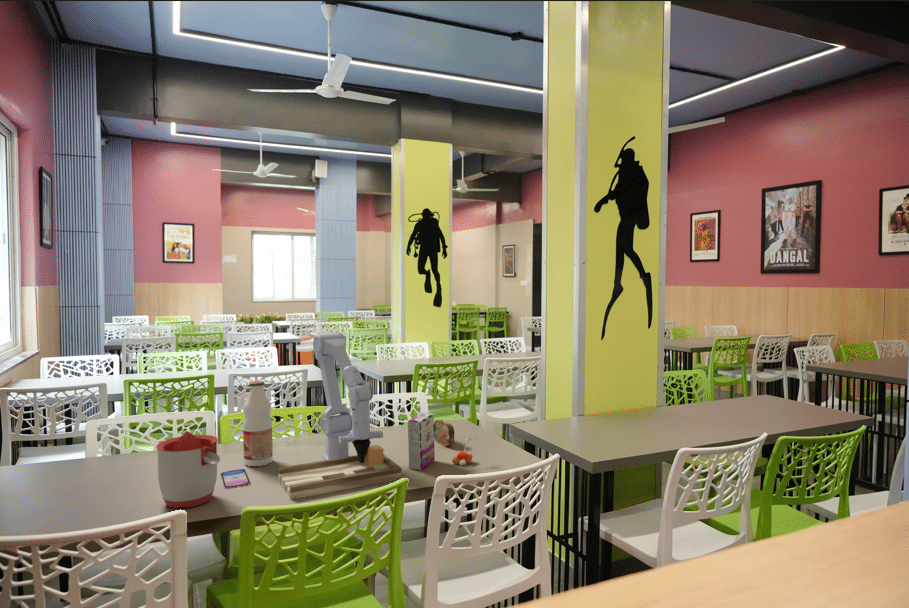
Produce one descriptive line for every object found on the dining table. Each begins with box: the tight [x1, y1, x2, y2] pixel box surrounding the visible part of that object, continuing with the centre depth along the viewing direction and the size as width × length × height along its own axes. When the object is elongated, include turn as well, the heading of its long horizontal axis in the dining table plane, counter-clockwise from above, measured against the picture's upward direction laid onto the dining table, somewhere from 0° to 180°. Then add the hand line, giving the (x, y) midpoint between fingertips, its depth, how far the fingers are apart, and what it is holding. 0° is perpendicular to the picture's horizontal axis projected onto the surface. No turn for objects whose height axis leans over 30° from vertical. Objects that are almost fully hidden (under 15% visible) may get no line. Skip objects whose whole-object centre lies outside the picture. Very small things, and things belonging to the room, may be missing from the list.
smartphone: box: [220, 468, 251, 489], centre depth 174 cm, size 8×15×1 cm, turn 27°
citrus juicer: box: [155, 431, 221, 509], centre depth 156 cm, size 16×17×20 cm
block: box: [364, 444, 385, 466], centre depth 183 cm, size 5×5×5 cm
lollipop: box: [451, 428, 478, 466], centre depth 188 cm, size 6×10×12 cm, turn 107°
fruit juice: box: [242, 380, 274, 467], centre depth 189 cm, size 9×9×28 cm
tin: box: [434, 419, 456, 448], centre depth 211 cm, size 15×3×8 cm, turn 25°
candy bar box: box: [407, 412, 436, 471], centre depth 186 cm, size 11×5×16 cm, turn 159°
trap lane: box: [277, 454, 403, 500], centre depth 174 cm, size 19×34×4 cm, turn 118°
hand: (361, 462), depth 181 cm, fingers closed
